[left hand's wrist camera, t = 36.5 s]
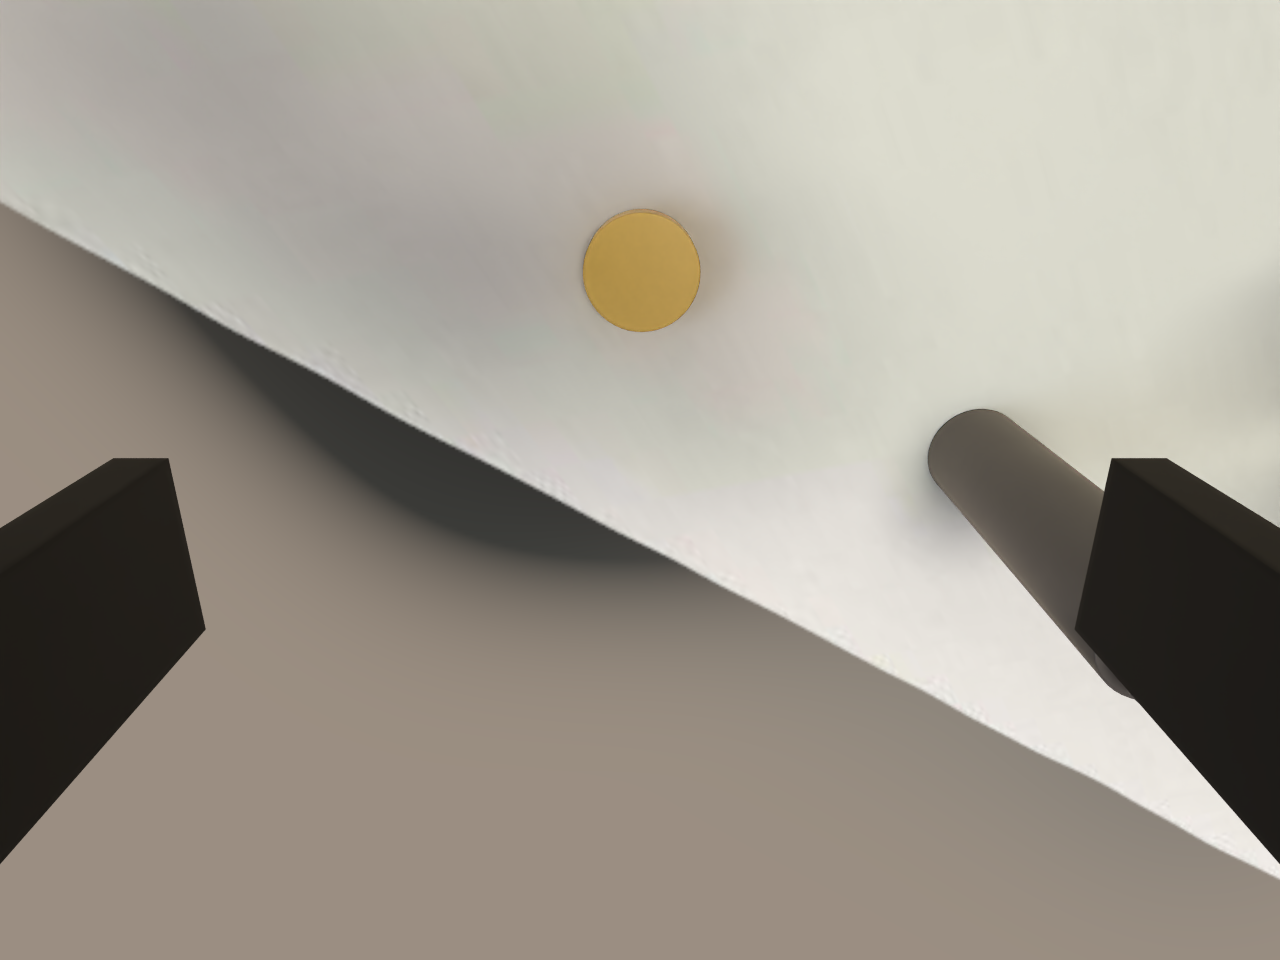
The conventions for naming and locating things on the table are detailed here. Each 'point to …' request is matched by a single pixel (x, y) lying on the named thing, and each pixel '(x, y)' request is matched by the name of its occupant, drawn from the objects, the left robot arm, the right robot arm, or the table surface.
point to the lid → (641, 270)
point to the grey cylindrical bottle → (1024, 512)
